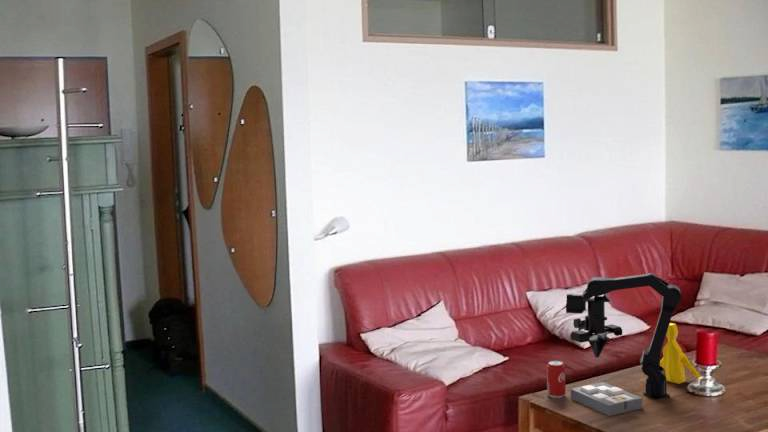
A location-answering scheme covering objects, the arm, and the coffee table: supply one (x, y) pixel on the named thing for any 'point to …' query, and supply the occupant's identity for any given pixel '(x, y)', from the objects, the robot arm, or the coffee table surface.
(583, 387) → the button
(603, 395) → the button
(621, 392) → the button
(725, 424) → the coffee table surface
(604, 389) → the button
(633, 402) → the panel
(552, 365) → the beverage can
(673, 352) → the figure statuette
